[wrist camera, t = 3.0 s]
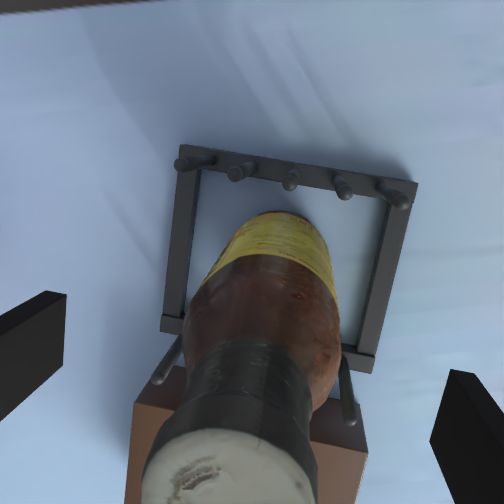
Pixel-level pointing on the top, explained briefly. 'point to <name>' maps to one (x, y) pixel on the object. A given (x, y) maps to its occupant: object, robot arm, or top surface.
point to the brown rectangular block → (321, 441)
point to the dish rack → (290, 175)
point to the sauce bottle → (252, 373)
